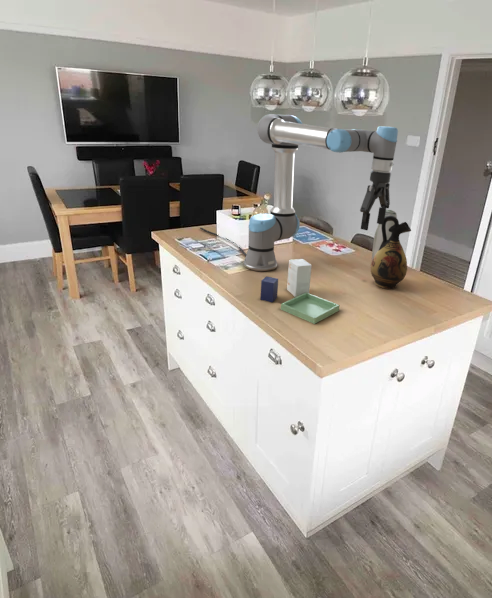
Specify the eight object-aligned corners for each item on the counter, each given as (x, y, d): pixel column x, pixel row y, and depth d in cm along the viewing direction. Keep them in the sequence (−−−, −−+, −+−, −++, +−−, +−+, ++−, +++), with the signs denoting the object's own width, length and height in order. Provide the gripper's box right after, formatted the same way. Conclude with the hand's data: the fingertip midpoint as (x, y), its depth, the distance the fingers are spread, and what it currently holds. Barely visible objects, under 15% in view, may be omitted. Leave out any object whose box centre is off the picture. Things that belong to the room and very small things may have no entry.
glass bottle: (382, 262, 210) (391, 207, 198) (394, 269, 202) (405, 212, 190) (366, 264, 206) (374, 207, 194) (378, 271, 198) (388, 213, 186)
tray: (280, 309, 153) (280, 303, 152) (306, 297, 165) (306, 292, 164) (314, 324, 145) (315, 318, 144) (339, 310, 156) (339, 305, 155)
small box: (309, 295, 167) (312, 265, 161) (295, 297, 164) (297, 266, 158) (300, 288, 173) (302, 258, 168) (286, 289, 170) (288, 259, 165)
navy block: (260, 299, 160) (261, 280, 156) (265, 295, 164) (266, 276, 161) (272, 302, 158) (273, 283, 155) (277, 297, 163) (278, 278, 159)
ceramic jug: (407, 283, 186) (420, 217, 174) (398, 294, 174) (411, 224, 161) (371, 274, 193) (381, 210, 181) (359, 285, 181) (370, 216, 168)
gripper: (374, 175, 145) (365, 234, 153) (404, 170, 163) (394, 223, 172) (356, 171, 148) (348, 229, 157) (386, 167, 167) (378, 219, 176)
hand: (372, 226), depth 165 cm, fingers open, 13 cm apart
